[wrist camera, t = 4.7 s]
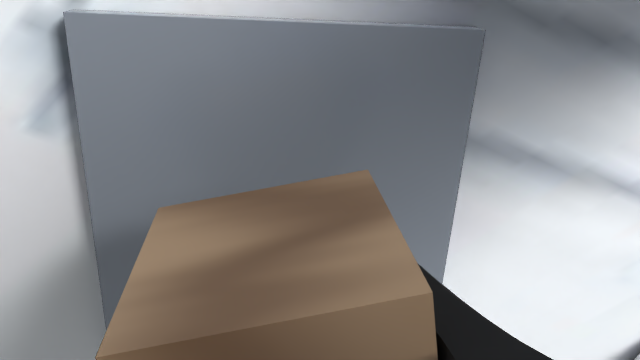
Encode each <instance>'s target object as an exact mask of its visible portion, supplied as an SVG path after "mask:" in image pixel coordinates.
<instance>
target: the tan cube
mask: <svg viewBox="0 0 640 360" xmlns="http://www.w3.org/2000/svg"><path fill="white" fill-rule="evenodd" d="M95 358H96V360H438V355H437V342H436V329H435V316H434V303H433V292H432V290H431V288H430V286H429V284H428V283H427V281H426V279H425V277H424V275H423V273H422V271H421V269H420V267H419V265H418V264H417V262H416V260H415V258H414V256H413V254H412V252H411V250H410V248H409V247H408V245H407V243H406V241H405V239H404V237H403V235H402V233H401V231H400V229H399V228H398V226H397V224H396V222H395V220H394V218H393V216H392V214H391V212H390V210H389V209H388V207H387V205H386V203H385V201H384V199H383V197H382V195H381V193H380V192H379V190H378V188H377V186H376V184H375V182H374V180H373V178H372V176H371V174H370V173H369V171H368V170H362V171H357V172H351V173H346V174H340V175H335V176H329V177H324V178H318V179H313V180H308V181H302V182H297V183H291V184H286V185H280V186H275V187H269V188H264V189H258V190H253V191H247V192H242V193H237V194H231V195H226V196H220V197H215V198H209V199H204V200H198V201H193V202H187V203H182V204H176V205H171V206H166V207H160V208H158V210H157V213H156V215H155V217H154V220H153V222H152V224H151V227H150V229H149V232H148V234H147V236H146V239H145V241H144V243H143V246H142V248H141V250H140V253H139V255H138V258H137V260H136V262H135V265H134V267H133V269H132V272H131V274H130V276H129V279H128V281H127V284H126V286H125V288H124V291H123V293H122V295H121V298H120V300H119V302H118V305H117V307H116V310H115V312H114V314H113V317H112V319H111V321H110V324H109V326H108V328H107V331H106V333H105V336H104V338H103V340H102V343H101V345H100V347H99V350H98V352H97V355H96V357H95Z"/></svg>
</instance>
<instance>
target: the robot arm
mask: <svg viewBox="0 0 640 360" xmlns="http://www.w3.org/2000/svg"><path fill="white" fill-rule="evenodd" d="M417 264H418V263H417ZM418 265H419V264H418ZM419 267H420V269H421V271H422V273H423V275H424V277H425V279H426V281H427V283H428V284H429V286H430V288H431V290H432V292H433V303H434V316H435V329H436V342H437V355H438V360H553V359H551V358H549V357H547V356H545V355H544V354H542V353H540V352H538V351H537V350H535V349H533V348H531V347H529V346H528V345H526V344H524V343H522V342H521V341H519V340H518V339H516V338H514V337H513V336H511V335H510V334H508V333H507V332H505V331H504V330H502V329H501V328H499V327H498V326H496V325H495V324H493V323H492V322H490V321H489V320H488V319H486V318H485V317H483V316H482V315H481V314H479V313H478V312H477V311H475V310H474V309H473V308H471V307H470V306H469V305H467V304H466V303H465V302H463V301H462V300H461V299H460V298H458V297H457V296H456V295H455V294H453V293H452V292H451V291H450V290H449V289H447V288H446V287H445V286H444V285H442V284H441V283H440V282H439V281H438V280H437V279H435V278H434V277H433V276H432V275H431V274H430V273H429V272H427V271H426V270H425V269H424V268H423V267H422V266H420V265H419Z"/></svg>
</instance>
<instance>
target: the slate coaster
mask: <svg viewBox="0 0 640 360" xmlns="http://www.w3.org/2000/svg"><path fill="white" fill-rule="evenodd" d="M63 15H64V23H65V30H66V37H67V45H68V52H69V59H70V67H71V74H72V81H73V89H74V96H75V103H76V111H77V118H78V125H79V133H80V140H81V147H82V155H83V162H84V169H85V177H86V184H87V191H88V199H89V206H90V213H91V221H92V228H93V235H94V243H95V250H96V258H97V265H98V272H99V280H100V287H101V294H102V302H103V309H104V316H105V324H106V331H107V328H108V326H109V324H110V321H111V319H112V317H113V314H114V312H115V310H116V307H117V305H118V302H119V300H120V298H121V295H122V293H123V291H124V288H125V286H126V284H127V281H128V279H129V276H130V274H131V272H132V269H133V267H134V265H135V262H136V260H137V258H138V255H139V253H140V250H141V248H142V246H143V243H144V241H145V239H146V236H147V234H148V232H149V229H150V227H151V224H152V222H153V220H154V217H155V215H156V213H157V210H158V208H160V207H166V206H171V205H176V204H182V203H187V202H193V201H198V200H204V199H209V198H215V197H220V196H226V195H231V194H237V193H242V192H247V191H253V190H258V189H264V188H269V187H275V186H280V185H286V184H291V183H297V182H302V181H308V180H313V179H318V178H324V177H329V176H335V175H340V174H346V173H351V172H357V171H362V170H368V171H369V173H370V174H371V176H372V178H373V180H374V182H375V184H376V186H377V188H378V190H379V192H380V193H381V195H382V197H383V199H384V201H385V203H386V205H387V207H388V209H389V210H390V212H391V214H392V216H393V218H394V220H395V222H396V224H397V226H398V228H399V229H400V231H401V233H402V235H403V237H404V239H405V241H406V243H407V245H408V247H409V248H410V250H411V252H412V254H413V256H414V258H415V260H416V262H417V263H418V264H419V265H420V266H422V267H423V268H424V269H425V270H426V271H427V272H429V273H430V274H431V275H432V276H433V277H434V278H435V279H437V280H438V281H439V282H440V283H441V284H442V282H443V276H444V270H445V265H446V259H447V253H448V247H449V241H450V235H451V229H452V224H453V218H454V212H455V206H456V200H457V194H458V188H459V183H460V177H461V171H462V165H463V159H464V153H465V148H466V142H467V136H468V130H469V124H470V118H471V112H472V107H473V101H474V95H475V89H476V83H477V77H478V71H479V66H480V60H481V54H482V48H483V42H484V36H485V30H484V29H481V28H477V27H466V26H443V25H420V24H397V23H373V22H350V21H327V20H304V19H281V18H258V17H234V16H211V15H188V14H165V13H142V12H118V11H95V10H69V11H65V12H63Z"/></svg>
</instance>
